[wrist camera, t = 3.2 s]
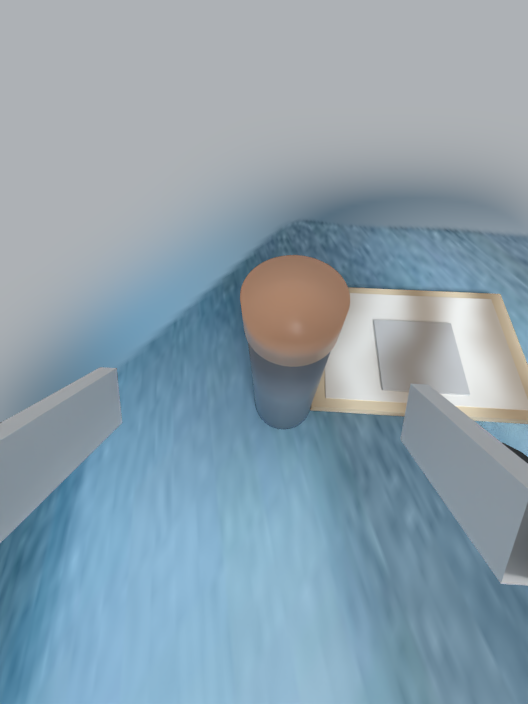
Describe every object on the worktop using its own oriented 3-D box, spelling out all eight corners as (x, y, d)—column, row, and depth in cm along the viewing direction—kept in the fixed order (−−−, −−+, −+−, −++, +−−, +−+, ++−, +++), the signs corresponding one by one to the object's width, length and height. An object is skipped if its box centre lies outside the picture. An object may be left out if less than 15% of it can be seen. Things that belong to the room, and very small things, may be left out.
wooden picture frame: (494, 299, 26) (502, 291, 26) (540, 424, 21) (553, 420, 20) (309, 291, 27) (311, 283, 26) (310, 410, 22) (311, 405, 21)
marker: (311, 377, 23) (346, 257, 13) (311, 432, 21) (354, 344, 11) (256, 374, 23) (245, 253, 13) (251, 428, 21) (234, 338, 11)
